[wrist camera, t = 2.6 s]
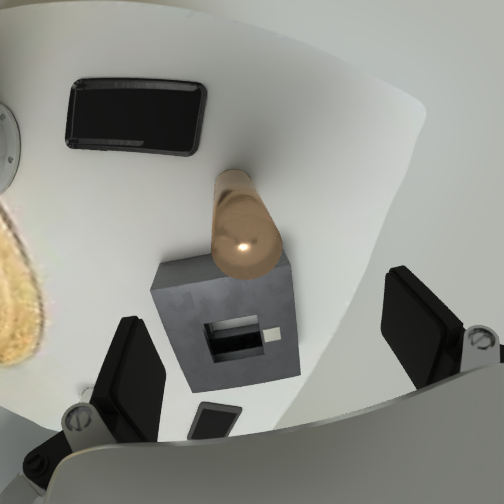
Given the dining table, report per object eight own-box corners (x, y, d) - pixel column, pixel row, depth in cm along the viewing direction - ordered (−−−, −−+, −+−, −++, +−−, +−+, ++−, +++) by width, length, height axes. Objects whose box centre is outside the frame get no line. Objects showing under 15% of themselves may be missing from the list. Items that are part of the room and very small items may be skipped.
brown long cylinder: (211, 173, 31) (204, 222, 16) (249, 166, 31) (277, 208, 16) (219, 213, 33) (220, 292, 18) (255, 206, 33) (286, 280, 18)
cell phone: (243, 405, 47) (243, 408, 46) (222, 442, 52) (222, 445, 51) (201, 399, 45) (200, 402, 45) (186, 437, 50) (186, 440, 50)
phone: (72, 79, 24) (208, 83, 26) (76, 80, 25) (209, 84, 27) (64, 149, 27) (196, 159, 29) (68, 148, 28) (196, 157, 30)
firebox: (159, 263, 34) (149, 291, 29) (279, 241, 35) (291, 265, 29) (194, 361, 41) (192, 394, 35) (291, 344, 41) (301, 376, 36)
